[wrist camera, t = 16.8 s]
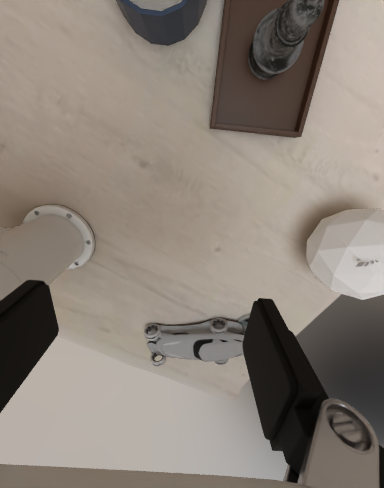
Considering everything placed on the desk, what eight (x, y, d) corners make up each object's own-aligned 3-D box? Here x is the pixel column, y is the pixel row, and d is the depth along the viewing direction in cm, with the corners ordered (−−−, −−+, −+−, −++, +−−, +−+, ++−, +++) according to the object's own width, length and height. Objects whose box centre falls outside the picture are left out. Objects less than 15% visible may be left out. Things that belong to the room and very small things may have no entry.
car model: (142, 322, 47) (136, 340, 43) (248, 315, 46) (254, 333, 42) (150, 355, 52) (146, 375, 47) (247, 349, 51) (253, 369, 46)
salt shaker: (274, 11, 26) (334, -93, 15) (299, 56, 27) (370, -8, 16) (236, 54, 27) (265, -11, 16) (262, 93, 29) (304, 58, 18)
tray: (209, 128, 31) (210, 127, 29) (230, -52, 24) (233, -69, 22) (295, 137, 32) (301, 136, 30) (341, -36, 24) (353, -52, 22)
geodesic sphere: (273, 279, 35) (374, 341, 25) (303, 196, 29) (450, 234, 20) (312, 262, 44) (398, 302, 34) (341, 195, 38) (454, 221, 28)
